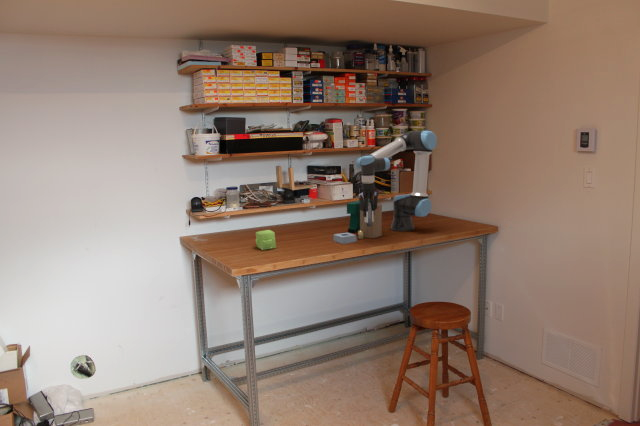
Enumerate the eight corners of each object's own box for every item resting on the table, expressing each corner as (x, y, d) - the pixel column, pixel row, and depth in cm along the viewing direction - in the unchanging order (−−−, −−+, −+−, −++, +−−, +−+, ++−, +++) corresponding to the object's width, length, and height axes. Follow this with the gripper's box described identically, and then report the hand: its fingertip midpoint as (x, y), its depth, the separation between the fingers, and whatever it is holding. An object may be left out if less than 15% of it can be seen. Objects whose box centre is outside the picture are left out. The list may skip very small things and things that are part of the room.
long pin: (369, 225, 310) (369, 202, 308) (372, 226, 308) (372, 202, 305) (365, 225, 309) (364, 202, 306) (368, 226, 306) (367, 203, 303)
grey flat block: (347, 238, 319) (347, 232, 318) (356, 241, 310) (356, 235, 309) (333, 240, 314) (333, 234, 313) (342, 243, 305) (342, 237, 305)
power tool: (370, 226, 358) (369, 197, 354) (379, 227, 354) (379, 198, 351) (346, 234, 332) (345, 203, 329) (355, 235, 328) (355, 204, 325)
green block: (252, 246, 307) (250, 230, 306) (268, 243, 311) (266, 228, 310) (261, 251, 291) (259, 235, 289) (277, 249, 295) (276, 232, 293)
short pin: (361, 237, 321) (361, 230, 320) (364, 238, 318) (364, 230, 317) (357, 238, 319) (357, 230, 318) (359, 239, 316) (359, 231, 315)
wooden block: (368, 234, 331) (368, 203, 328) (382, 235, 325) (382, 204, 322) (359, 236, 324) (359, 205, 320) (373, 238, 317) (373, 206, 314)
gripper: (375, 180, 310) (376, 219, 315) (352, 183, 303) (354, 222, 307) (383, 181, 304) (383, 220, 308) (360, 184, 296) (361, 224, 301)
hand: (369, 221), depth 308 cm, fingers closed on long pin, 3 cm apart
